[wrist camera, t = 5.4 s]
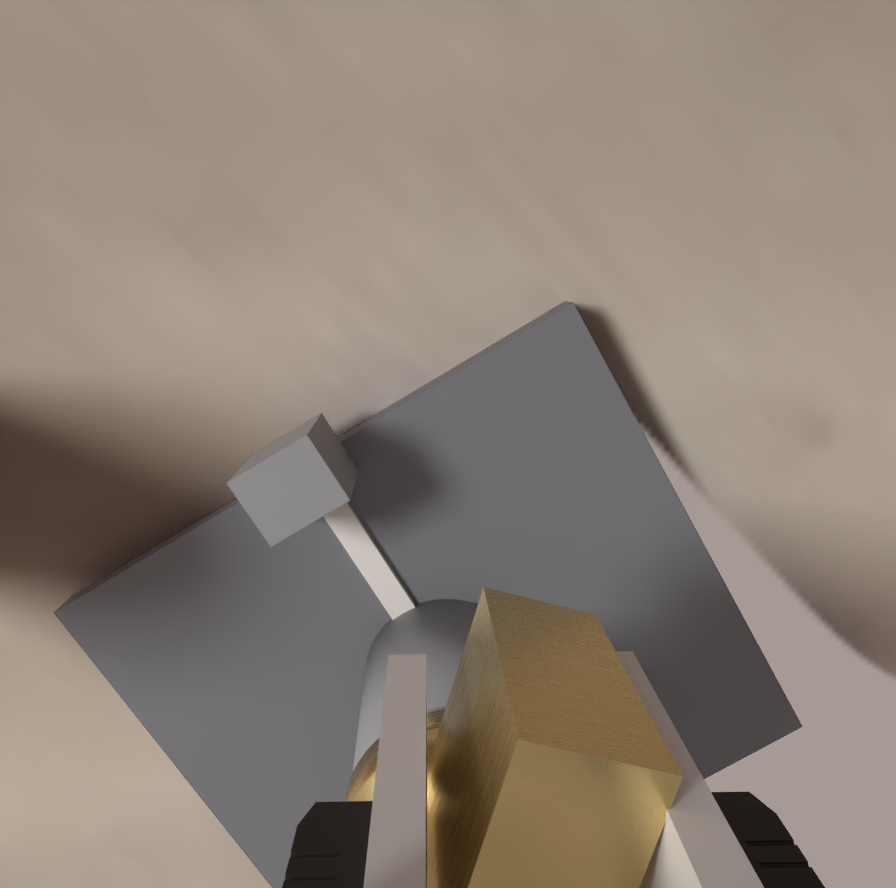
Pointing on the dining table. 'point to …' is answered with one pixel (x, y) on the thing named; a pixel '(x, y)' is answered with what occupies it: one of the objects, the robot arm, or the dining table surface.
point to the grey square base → (417, 582)
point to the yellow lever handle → (539, 758)
